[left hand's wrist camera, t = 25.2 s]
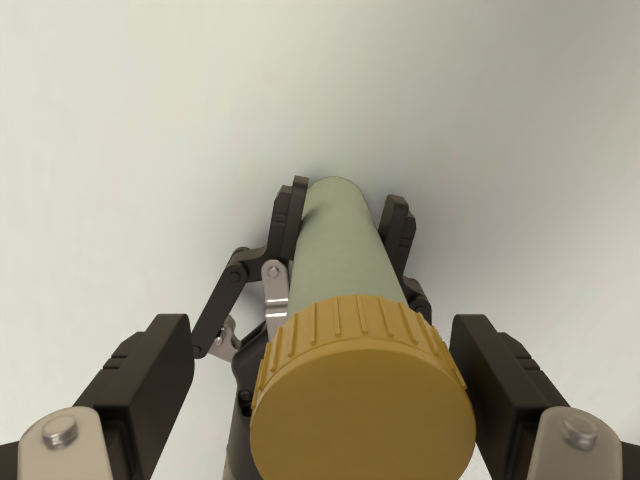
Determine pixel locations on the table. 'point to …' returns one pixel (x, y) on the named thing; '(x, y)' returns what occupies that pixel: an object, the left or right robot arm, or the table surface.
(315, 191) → the jar
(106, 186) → the table surface
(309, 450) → the lid
